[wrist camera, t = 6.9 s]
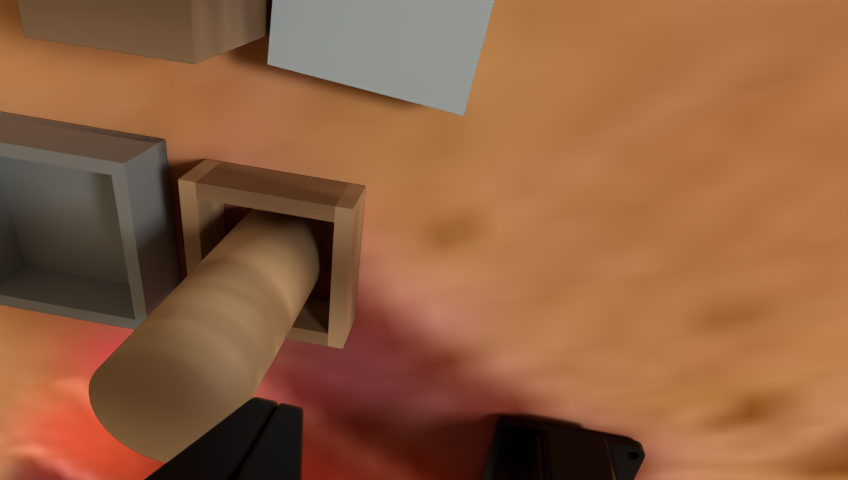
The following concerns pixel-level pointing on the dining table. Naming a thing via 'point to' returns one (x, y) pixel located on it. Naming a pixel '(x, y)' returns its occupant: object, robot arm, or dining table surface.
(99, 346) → the dining table surface
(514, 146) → the dining table surface
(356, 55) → the pale grey box
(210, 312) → the dowel
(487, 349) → the dining table surface
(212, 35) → the block
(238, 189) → the socket block
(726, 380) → the dining table surface
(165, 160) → the tray
